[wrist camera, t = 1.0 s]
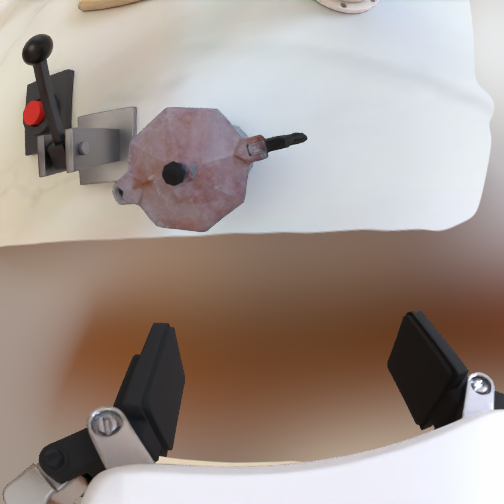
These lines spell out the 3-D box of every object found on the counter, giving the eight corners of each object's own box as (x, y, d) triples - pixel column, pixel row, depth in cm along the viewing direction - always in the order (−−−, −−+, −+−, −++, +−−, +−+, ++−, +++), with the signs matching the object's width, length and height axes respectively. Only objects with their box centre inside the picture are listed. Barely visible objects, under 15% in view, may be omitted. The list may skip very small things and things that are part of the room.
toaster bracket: (81, 117, 31) (25, 115, 19) (136, 107, 31) (89, 96, 19) (84, 183, 35) (30, 204, 23) (137, 178, 35) (92, 198, 23)
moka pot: (154, 143, 33) (69, 151, 15) (265, 100, 32) (291, 53, 13) (180, 207, 37) (123, 274, 18) (289, 167, 35) (340, 198, 17)
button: (31, 104, 26) (23, 104, 25) (47, 98, 26) (40, 97, 25) (30, 127, 28) (23, 127, 26) (46, 122, 28) (39, 122, 26)
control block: (33, 85, 27) (20, 84, 24) (74, 70, 28) (61, 66, 25) (31, 154, 32) (18, 157, 29) (71, 145, 32) (58, 147, 29)
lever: (33, 37, 13) (13, 45, 11) (57, 26, 13) (37, 33, 11) (63, 156, 25) (50, 172, 23) (85, 152, 25) (72, 169, 23)
